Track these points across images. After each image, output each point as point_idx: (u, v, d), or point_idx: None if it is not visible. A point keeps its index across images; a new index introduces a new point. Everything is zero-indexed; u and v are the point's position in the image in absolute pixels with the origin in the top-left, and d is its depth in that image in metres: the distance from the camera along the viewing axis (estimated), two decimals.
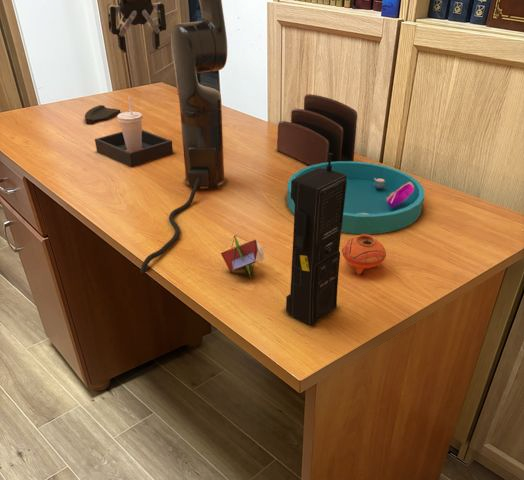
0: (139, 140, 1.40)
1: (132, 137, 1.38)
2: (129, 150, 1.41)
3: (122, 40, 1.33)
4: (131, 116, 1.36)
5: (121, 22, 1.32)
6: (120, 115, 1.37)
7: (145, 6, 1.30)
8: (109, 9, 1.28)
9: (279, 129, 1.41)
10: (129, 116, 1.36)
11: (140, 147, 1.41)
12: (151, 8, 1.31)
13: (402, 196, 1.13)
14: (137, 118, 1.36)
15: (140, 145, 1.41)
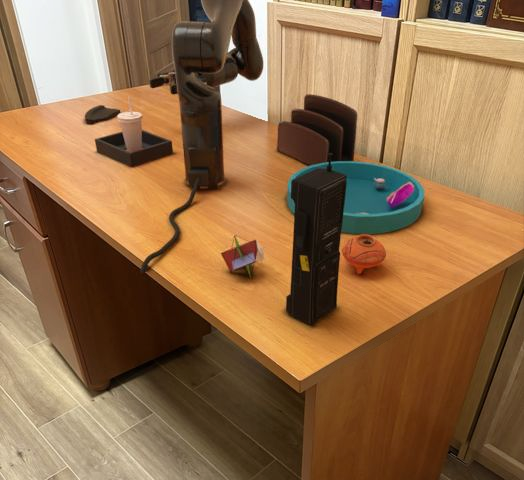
0: (139, 140, 1.40)
1: (132, 137, 1.38)
2: (129, 150, 1.41)
3: None
4: (131, 116, 1.36)
5: None
6: (120, 115, 1.37)
7: None
8: None
9: (279, 129, 1.41)
10: (129, 116, 1.36)
11: (140, 147, 1.41)
12: None
13: (402, 196, 1.13)
14: (137, 118, 1.36)
15: (140, 145, 1.41)
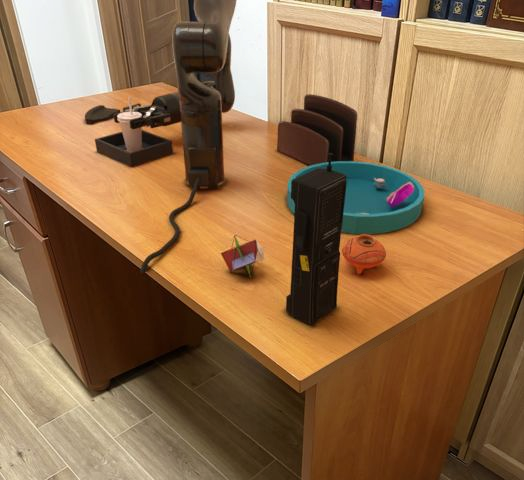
0: (139, 140, 1.40)
1: (132, 137, 1.38)
2: (129, 150, 1.41)
3: None
4: (131, 116, 1.36)
5: None
6: (120, 115, 1.37)
7: (159, 110, 1.40)
8: None
9: (279, 129, 1.41)
10: (129, 116, 1.36)
11: (140, 147, 1.41)
12: (161, 112, 1.39)
13: (402, 196, 1.13)
14: None
15: (140, 145, 1.41)
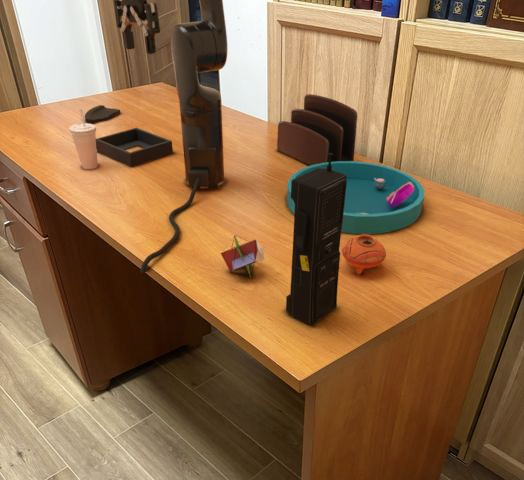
0: (93, 153, 1.32)
1: (86, 151, 1.30)
2: (83, 164, 1.33)
3: None
4: (83, 128, 1.28)
5: None
6: (72, 127, 1.29)
7: (135, 4, 1.23)
8: None
9: (279, 129, 1.41)
10: (81, 128, 1.28)
11: (95, 161, 1.34)
12: (140, 7, 1.23)
13: (402, 196, 1.13)
14: (90, 130, 1.28)
15: (95, 159, 1.33)
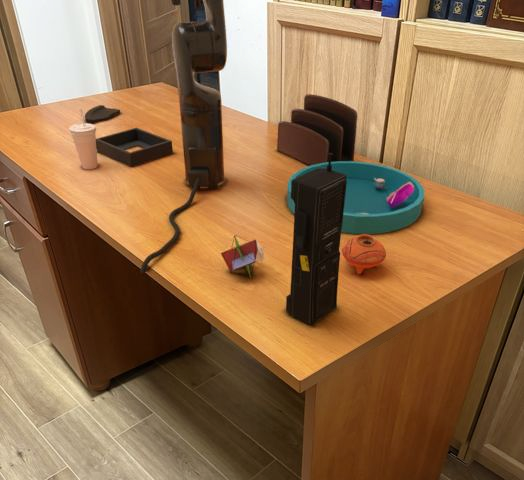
0: (93, 153, 1.32)
1: (86, 151, 1.30)
2: (83, 164, 1.33)
3: None
4: (83, 128, 1.28)
5: None
6: (72, 127, 1.29)
7: None
8: None
9: (279, 129, 1.41)
10: (81, 128, 1.28)
11: (95, 161, 1.34)
12: None
13: (402, 196, 1.13)
14: (90, 130, 1.28)
15: (95, 159, 1.33)
